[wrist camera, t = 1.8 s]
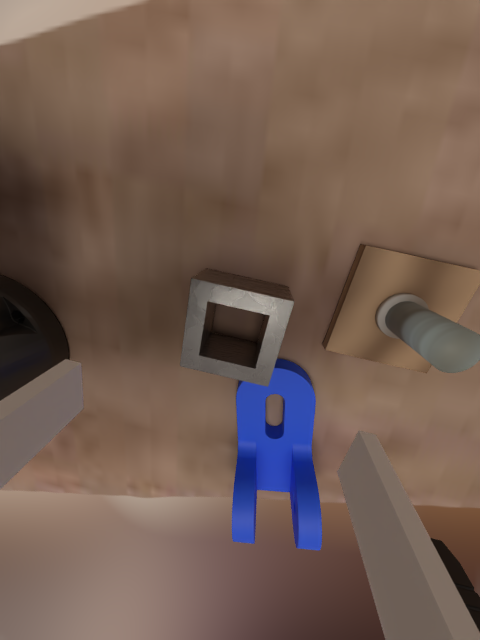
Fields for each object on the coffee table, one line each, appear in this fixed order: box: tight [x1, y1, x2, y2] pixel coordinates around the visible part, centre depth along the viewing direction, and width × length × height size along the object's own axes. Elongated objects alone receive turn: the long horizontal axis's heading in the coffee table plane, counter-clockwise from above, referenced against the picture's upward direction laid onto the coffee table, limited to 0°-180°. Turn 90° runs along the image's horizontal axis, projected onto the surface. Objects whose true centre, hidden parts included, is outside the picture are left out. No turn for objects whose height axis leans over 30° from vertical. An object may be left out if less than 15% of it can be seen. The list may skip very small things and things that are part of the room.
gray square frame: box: [180, 268, 294, 387], centre depth 22 cm, size 8×8×5 cm
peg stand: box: [323, 244, 480, 373], centre depth 19 cm, size 10×10×8 cm
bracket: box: [232, 359, 322, 550], centre depth 25 cm, size 18×8×9 cm, turn 2°
